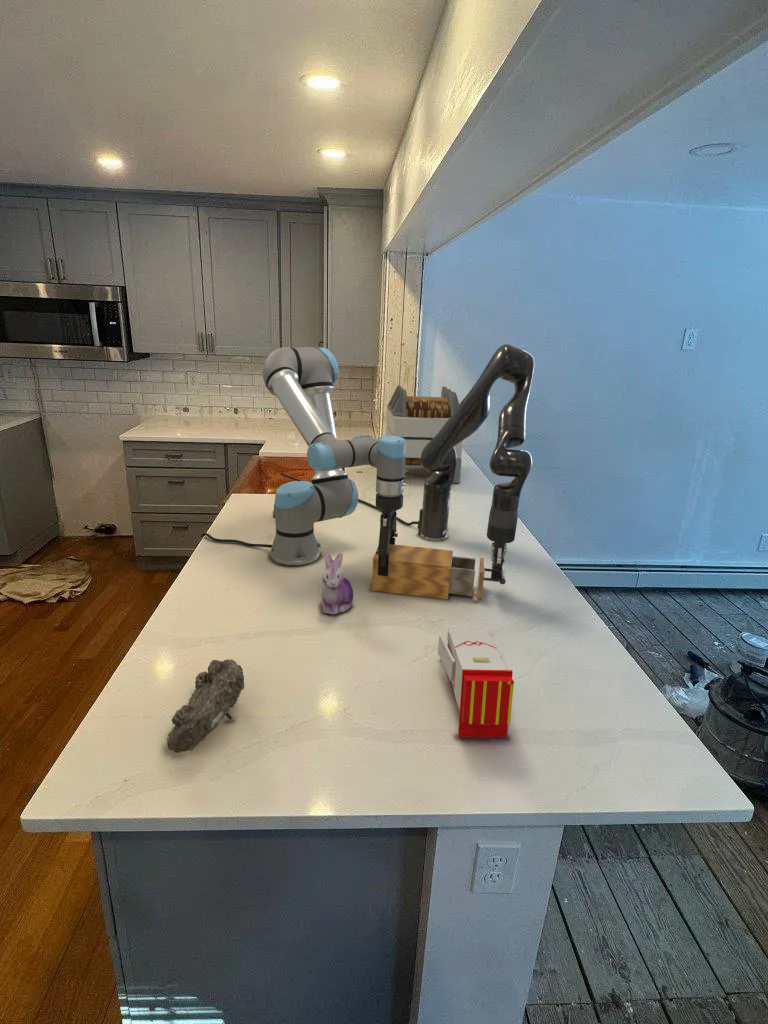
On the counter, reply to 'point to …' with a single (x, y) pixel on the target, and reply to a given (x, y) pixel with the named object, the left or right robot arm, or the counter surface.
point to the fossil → (206, 705)
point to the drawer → (469, 576)
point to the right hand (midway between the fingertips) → (494, 580)
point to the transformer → (421, 422)
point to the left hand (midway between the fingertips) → (386, 566)
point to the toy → (478, 682)
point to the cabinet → (415, 571)
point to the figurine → (335, 587)
